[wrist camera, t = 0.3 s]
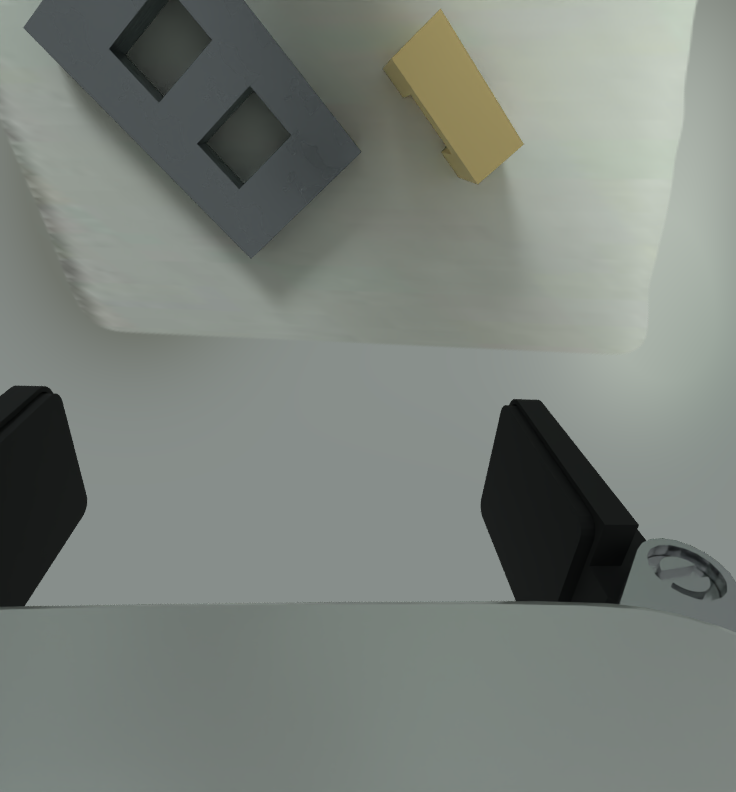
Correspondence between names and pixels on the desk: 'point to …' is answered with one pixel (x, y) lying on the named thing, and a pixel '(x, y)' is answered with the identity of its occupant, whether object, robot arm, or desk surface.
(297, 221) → the desk surface
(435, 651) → the robot arm
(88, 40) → the grey slotted board
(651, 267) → the desk surface
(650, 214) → the desk surface
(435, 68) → the yellow u-shaped block
